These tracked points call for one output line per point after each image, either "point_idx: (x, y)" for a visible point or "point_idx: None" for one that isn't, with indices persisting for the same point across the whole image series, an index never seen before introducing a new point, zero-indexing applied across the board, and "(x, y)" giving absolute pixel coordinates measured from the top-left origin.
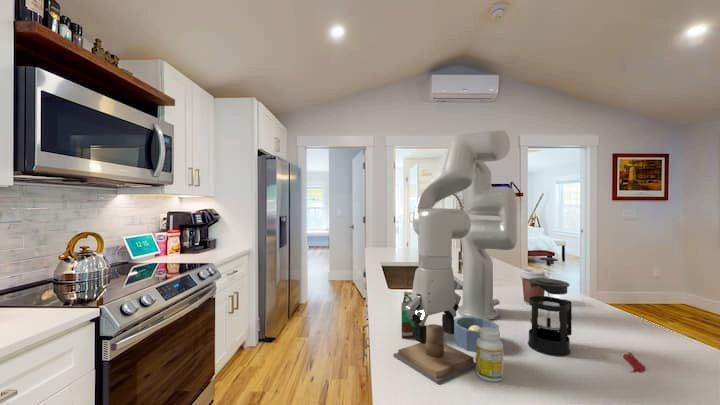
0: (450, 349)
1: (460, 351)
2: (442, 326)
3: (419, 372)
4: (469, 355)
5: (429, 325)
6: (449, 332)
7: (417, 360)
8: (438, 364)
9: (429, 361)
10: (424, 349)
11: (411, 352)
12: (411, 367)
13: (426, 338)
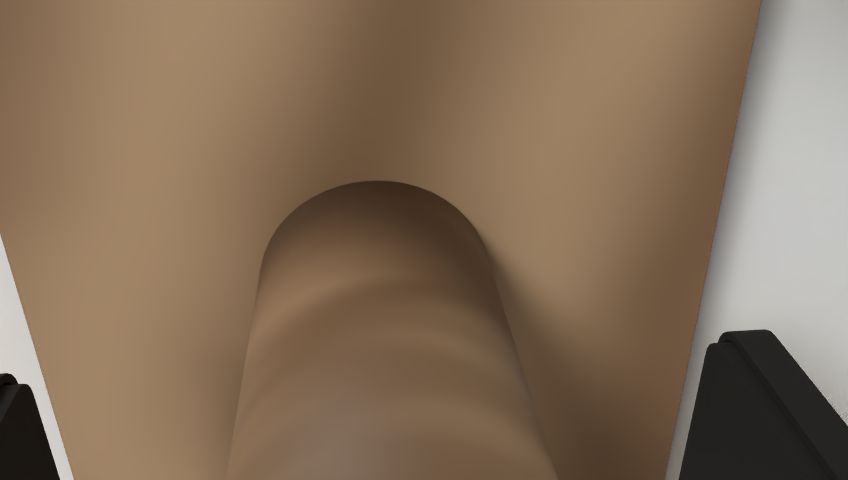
0: (634, 296)
1: (676, 381)
2: (745, 389)
3: None
4: (666, 468)
5: (382, 471)
6: (691, 476)
7: (41, 312)
8: (222, 463)
9: (168, 390)
10: (336, 135)
11: (88, 111)
12: None
13: (247, 377)
